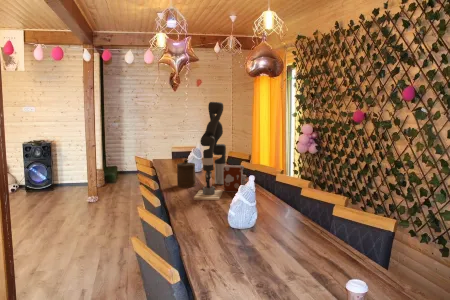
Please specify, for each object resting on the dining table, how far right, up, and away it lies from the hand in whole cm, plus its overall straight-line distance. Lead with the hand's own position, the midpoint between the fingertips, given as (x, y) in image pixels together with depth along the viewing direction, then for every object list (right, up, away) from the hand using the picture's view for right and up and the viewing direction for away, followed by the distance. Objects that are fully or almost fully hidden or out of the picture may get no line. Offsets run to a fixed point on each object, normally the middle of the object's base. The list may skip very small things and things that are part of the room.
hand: (208, 186), depth 296 cm
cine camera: (+21, -5, +14) cm, 26 cm away
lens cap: (0, -2, 0) cm, 2 cm away
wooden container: (-20, -3, +37) cm, 42 cm away
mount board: (0, -7, +1) cm, 7 cm away
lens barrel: (0, -5, +1) cm, 5 cm away
